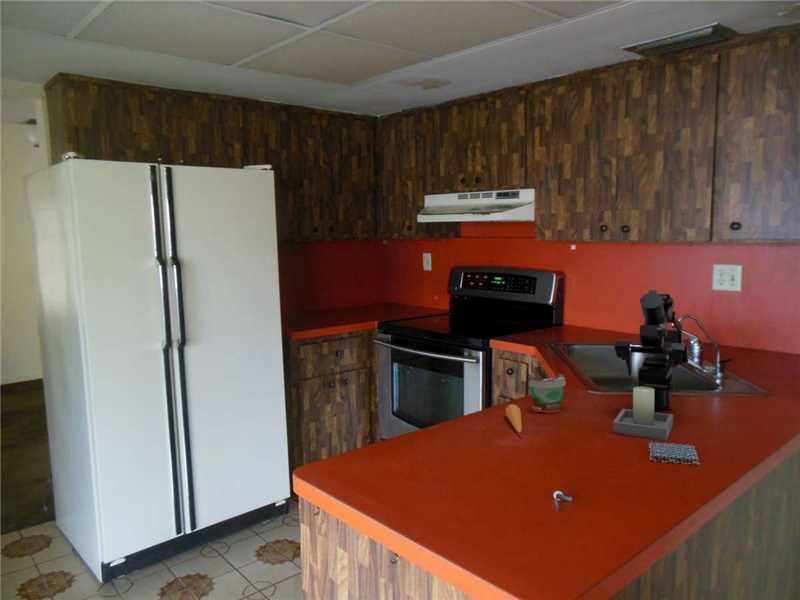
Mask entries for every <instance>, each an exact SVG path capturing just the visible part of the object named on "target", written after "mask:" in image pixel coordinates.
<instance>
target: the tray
mask: <svg viewBox="0 0 800 600" xmlns="http://www.w3.org/2000/svg"><path fill="white" fill-rule="evenodd" d="M673 427H674V414H672V413H664V412H662V413H661V412H657V411H654V426H647V425H639V424H633V409H628V408H622V409H621V410H620V412H619V413H618V414H617V416H616V417H615V419H614V420H613V422H612V434H614V433H617V434H616V435H621V434H624V435H623V436H628V435H630V437H635V436H636V437H637V438H643V437H644V438H643V439H650V438H651V439H652V440H657V439H658V440H657V441H664V440H665V441H666V442H667V441H668V439H669V437H670V434H671V431H672V429H673ZM668 436H669V437H668Z"/></svg>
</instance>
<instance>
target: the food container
mask: <svg viewBox="0 0 800 600" xmlns="http://www.w3.org/2000/svg"><path fill="white" fill-rule="evenodd" d="M566 385H567V382H566V379H565V376H564V375H563V374H561V373H558V375H557V376H554V377H545V378H541V379H539V380H535V379H529V381H528V387H530V395H531V404H532V409H533V408H535V409H539V410H557V409H560V408H561V407H563V397H564V394H563V393H564V386H566Z"/></svg>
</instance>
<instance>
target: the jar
mask: <svg viewBox="0 0 800 600" xmlns="http://www.w3.org/2000/svg"><path fill="white" fill-rule="evenodd" d="M632 391H633V392H632V410H633V424H639V425H647V426H654V412H655V411H654V389H653V388H650V387H642V386H640V387H639V386H635V387H633V388H632Z"/></svg>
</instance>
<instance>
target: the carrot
mask: <svg viewBox="0 0 800 600" xmlns="http://www.w3.org/2000/svg"><path fill="white" fill-rule="evenodd" d="M521 414H522V413H521V408H520V407H519V406H518V405H516V404H509V405H508V406H507V407H505V416H506V418H507V417H508V418H507V419H509V420H510V421H511V423H512V425H513V426H514V428H515V429H516V430H517V431H518V432H521V430H523V428H522V427H523V426H522V415H521ZM509 420H508V421H509ZM510 421H509V422H510ZM511 423H510V424H511ZM512 425H511V426H512ZM514 428H513V429H514Z"/></svg>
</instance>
